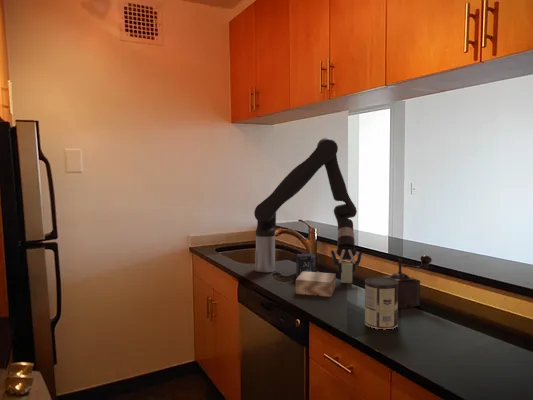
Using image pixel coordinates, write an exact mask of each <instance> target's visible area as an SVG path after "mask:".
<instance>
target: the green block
mask: <svg viewBox="0 0 533 400" xmlns="http://www.w3.org/2000/svg"><path fill="white" fill-rule="evenodd" d="M341 264H342V273H340V282H341V283H342V284H353V274H352V269H353V264H352V262H350V261H343V262H341Z"/></svg>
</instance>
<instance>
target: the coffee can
mask: <svg viewBox="0 0 533 400" xmlns="http://www.w3.org/2000/svg"><path fill="white" fill-rule="evenodd" d="M398 284H399V282H398V281H397V280H395V279H392V278H386V277H382V276H371V277H367V278H365V279H364V325H365V326H366V327H368V328H370V327H371V329H373V328H375V330H378V329H383V330H382V331H387V330H386V329H392V330H394V328H395V329H396V327H397V328H398V324H399V323H398V314H399V312H398V310H399V309H398Z"/></svg>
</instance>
